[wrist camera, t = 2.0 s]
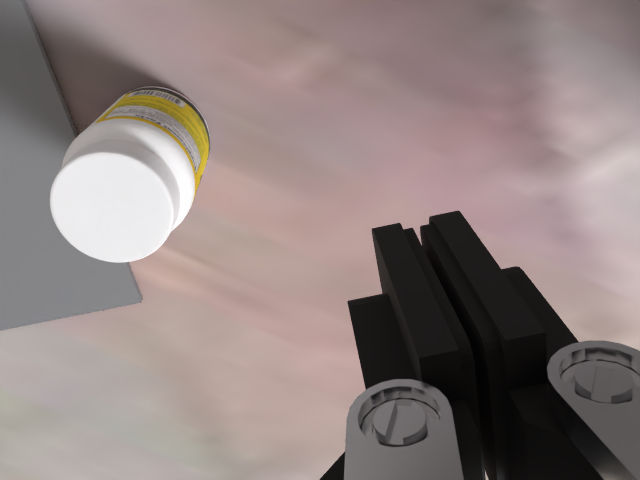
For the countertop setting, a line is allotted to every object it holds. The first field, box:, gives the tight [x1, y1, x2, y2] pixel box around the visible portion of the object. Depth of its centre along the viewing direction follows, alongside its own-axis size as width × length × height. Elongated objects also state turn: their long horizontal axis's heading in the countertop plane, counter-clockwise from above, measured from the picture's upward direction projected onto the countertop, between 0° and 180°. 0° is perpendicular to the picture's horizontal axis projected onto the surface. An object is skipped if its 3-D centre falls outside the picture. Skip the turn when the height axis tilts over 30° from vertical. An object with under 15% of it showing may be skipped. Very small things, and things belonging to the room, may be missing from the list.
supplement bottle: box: [50, 86, 210, 263], centre depth 23 cm, size 5×5×8 cm
